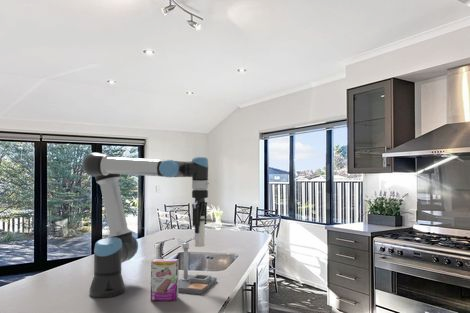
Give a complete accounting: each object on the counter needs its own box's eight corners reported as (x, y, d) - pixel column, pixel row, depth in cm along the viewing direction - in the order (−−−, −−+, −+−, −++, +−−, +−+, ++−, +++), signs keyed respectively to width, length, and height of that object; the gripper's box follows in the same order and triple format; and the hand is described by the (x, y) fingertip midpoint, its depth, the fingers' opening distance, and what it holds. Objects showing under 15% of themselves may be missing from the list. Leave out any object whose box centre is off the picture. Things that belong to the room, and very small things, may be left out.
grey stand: (201, 294, 156) (201, 256, 157) (167, 291, 161) (168, 253, 162) (217, 281, 175) (217, 247, 176) (187, 278, 180) (187, 245, 181)
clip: (182, 243, 185) (182, 238, 185) (189, 248, 171) (189, 243, 172) (176, 243, 184) (176, 239, 184) (183, 249, 170) (183, 244, 170)
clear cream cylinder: (202, 247, 164) (203, 216, 165) (192, 246, 165) (192, 216, 166) (206, 245, 169) (207, 215, 170) (196, 244, 170) (196, 215, 171)
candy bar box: (150, 301, 147) (150, 261, 148) (152, 297, 152) (153, 258, 153) (177, 301, 148) (177, 261, 149) (178, 297, 153) (178, 258, 154)
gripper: (200, 190, 159) (200, 242, 158) (213, 189, 176) (213, 236, 175) (185, 190, 161) (184, 241, 160) (199, 188, 178) (199, 235, 177)
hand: (199, 239), depth 167 cm, fingers closed on clear cream cylinder, 4 cm apart
